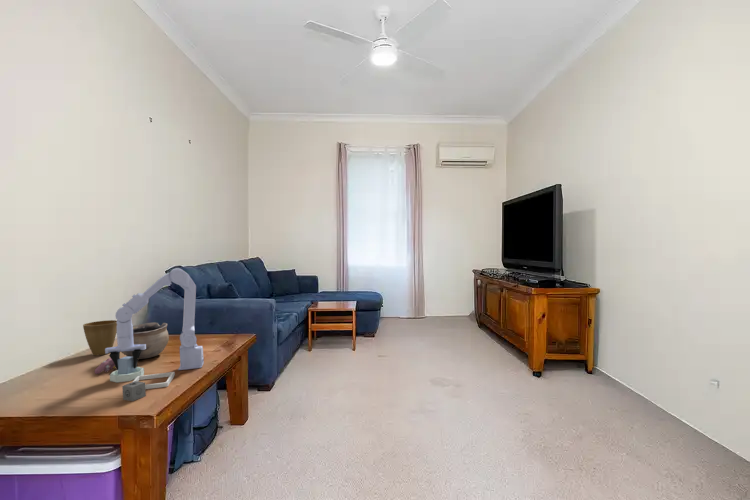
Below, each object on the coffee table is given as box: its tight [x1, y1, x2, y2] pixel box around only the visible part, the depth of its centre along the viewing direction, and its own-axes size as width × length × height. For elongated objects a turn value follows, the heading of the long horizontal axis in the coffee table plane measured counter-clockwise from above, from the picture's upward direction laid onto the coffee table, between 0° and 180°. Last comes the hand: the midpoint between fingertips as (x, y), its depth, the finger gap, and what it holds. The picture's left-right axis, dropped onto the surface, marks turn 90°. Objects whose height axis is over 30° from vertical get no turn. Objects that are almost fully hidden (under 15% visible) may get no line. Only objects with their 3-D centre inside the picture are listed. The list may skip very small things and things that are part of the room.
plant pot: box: [82, 319, 117, 357], centre depth 207 cm, size 15×15×16 cm
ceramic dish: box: [109, 366, 145, 383], centre depth 168 cm, size 11×11×2 cm
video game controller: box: [94, 357, 116, 375], centre depth 178 cm, size 10×5×7 cm, turn 170°
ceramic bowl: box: [116, 322, 170, 360], centre depth 197 cm, size 22×22×15 cm
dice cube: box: [121, 380, 147, 402], centre depth 145 cm, size 5×5×5 cm
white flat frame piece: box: [132, 371, 176, 390], centre depth 160 cm, size 14×14×2 cm
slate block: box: [117, 355, 136, 374], centre depth 168 cm, size 4×4×6 cm
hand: (127, 368), depth 168 cm, fingers closed on slate block, 6 cm apart
